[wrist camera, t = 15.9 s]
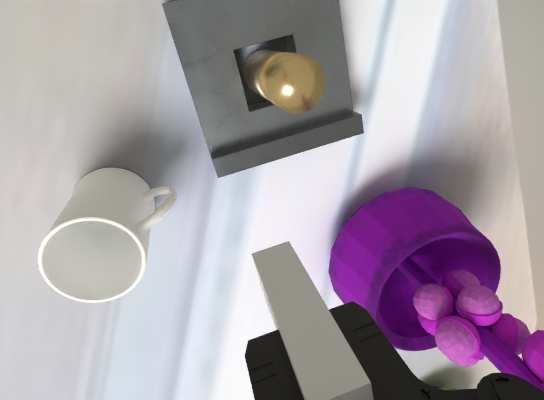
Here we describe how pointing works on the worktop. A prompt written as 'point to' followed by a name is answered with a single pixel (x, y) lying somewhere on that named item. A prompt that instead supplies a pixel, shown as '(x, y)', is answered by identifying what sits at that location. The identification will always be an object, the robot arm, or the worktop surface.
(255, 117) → the jig
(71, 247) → the mug
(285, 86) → the tan cylinder
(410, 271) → the decorative plant
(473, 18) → the worktop surface
